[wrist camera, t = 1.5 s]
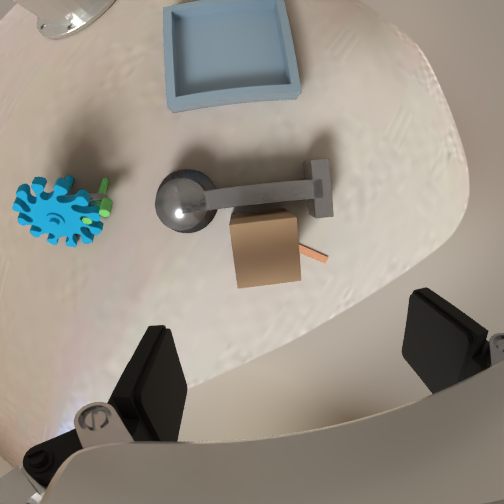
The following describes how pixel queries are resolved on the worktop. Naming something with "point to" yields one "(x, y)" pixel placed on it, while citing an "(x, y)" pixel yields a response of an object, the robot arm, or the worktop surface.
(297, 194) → the lever
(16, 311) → the worktop surface
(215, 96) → the tray
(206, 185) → the pivot base
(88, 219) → the gear
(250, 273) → the block
